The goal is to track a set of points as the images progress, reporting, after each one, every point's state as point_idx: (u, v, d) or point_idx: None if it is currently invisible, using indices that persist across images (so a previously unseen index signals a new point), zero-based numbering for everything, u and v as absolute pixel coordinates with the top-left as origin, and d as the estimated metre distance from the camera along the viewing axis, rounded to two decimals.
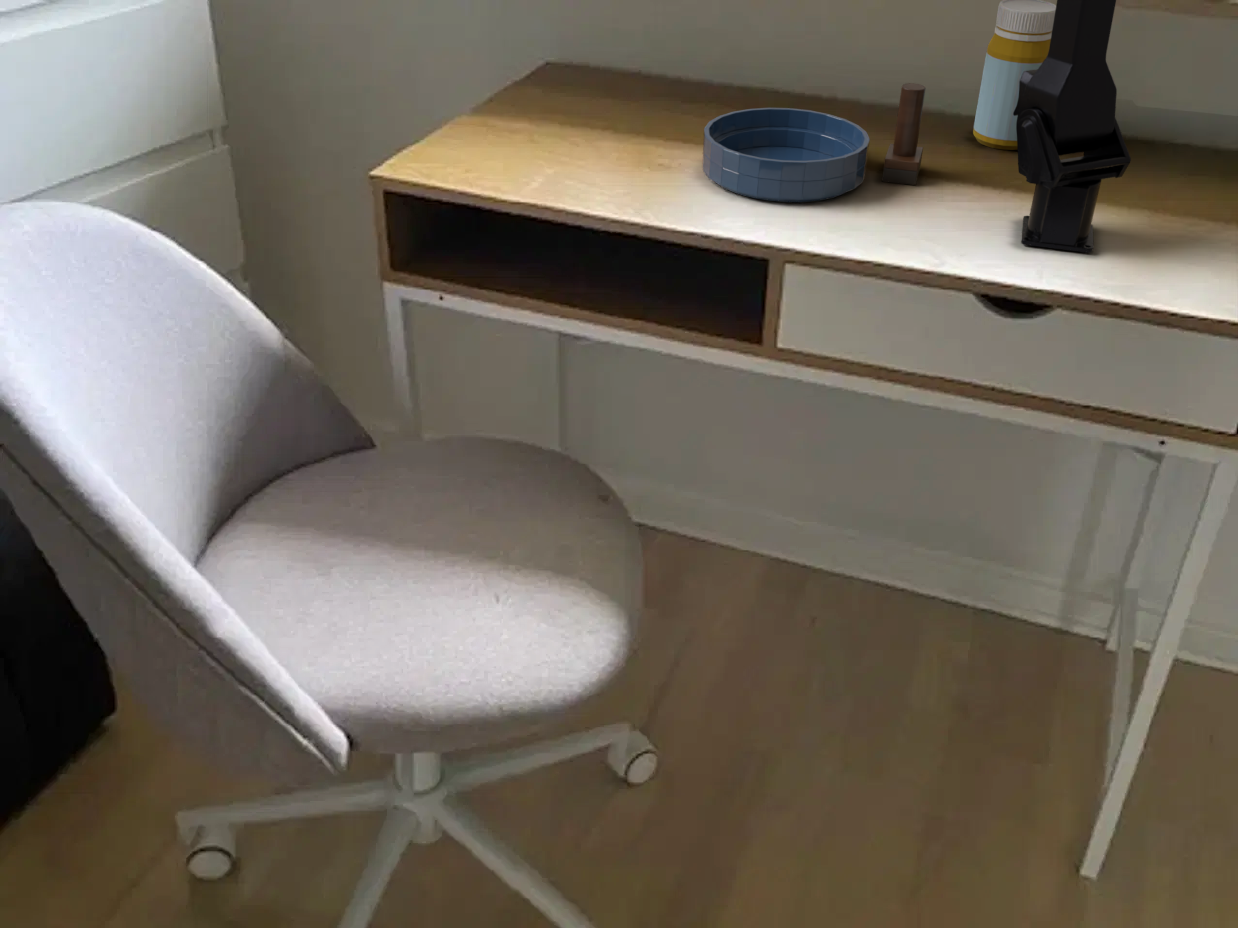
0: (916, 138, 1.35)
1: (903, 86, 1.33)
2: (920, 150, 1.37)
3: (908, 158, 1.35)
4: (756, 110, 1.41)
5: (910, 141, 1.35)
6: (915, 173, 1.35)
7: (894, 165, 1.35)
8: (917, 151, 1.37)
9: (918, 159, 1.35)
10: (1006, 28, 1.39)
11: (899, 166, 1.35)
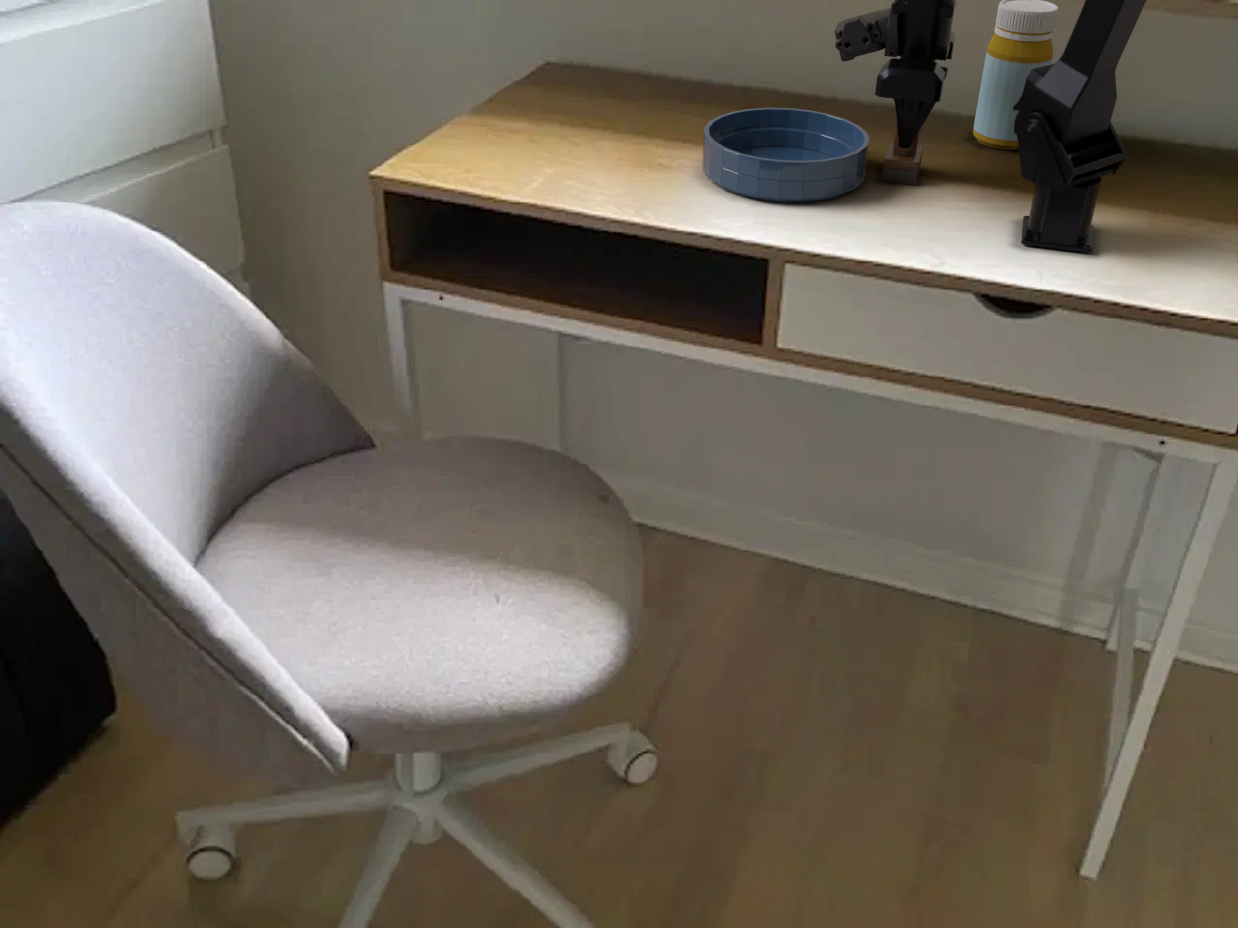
0: (916, 138, 1.35)
1: None
2: (920, 150, 1.37)
3: (908, 158, 1.35)
4: (756, 110, 1.41)
5: None
6: (915, 173, 1.35)
7: (894, 165, 1.35)
8: (917, 151, 1.37)
9: (918, 159, 1.35)
10: (1006, 28, 1.39)
11: (899, 166, 1.35)
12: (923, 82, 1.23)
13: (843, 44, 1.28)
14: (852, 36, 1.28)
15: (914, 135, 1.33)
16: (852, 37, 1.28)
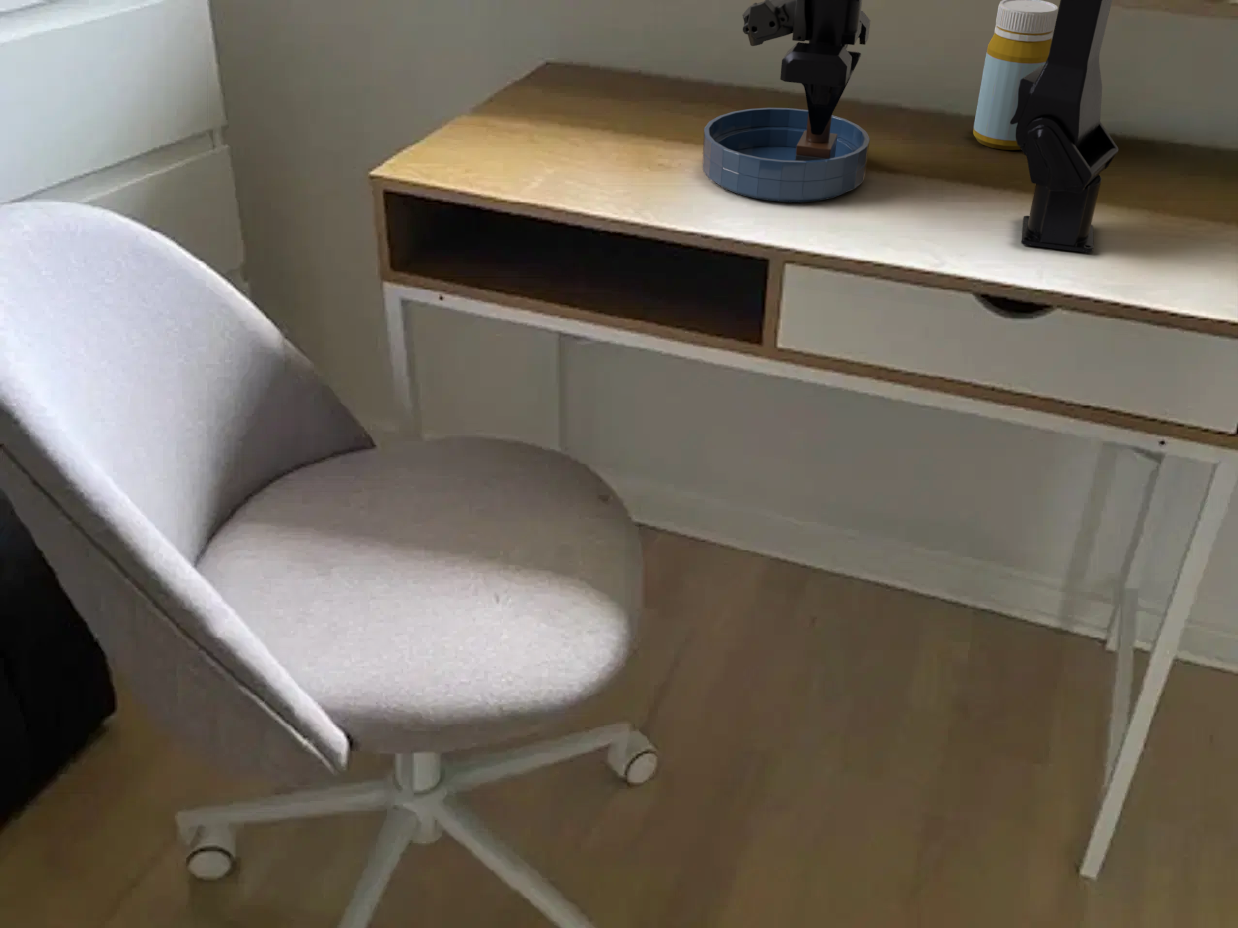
0: (828, 124, 1.33)
1: None
2: (834, 137, 1.35)
3: (820, 145, 1.33)
4: (756, 110, 1.41)
5: None
6: None
7: (806, 152, 1.33)
8: (830, 138, 1.35)
9: (830, 146, 1.33)
10: (1006, 28, 1.39)
11: (811, 153, 1.33)
12: (827, 66, 1.21)
13: (750, 28, 1.26)
14: (758, 20, 1.25)
15: (825, 121, 1.31)
16: (759, 21, 1.25)
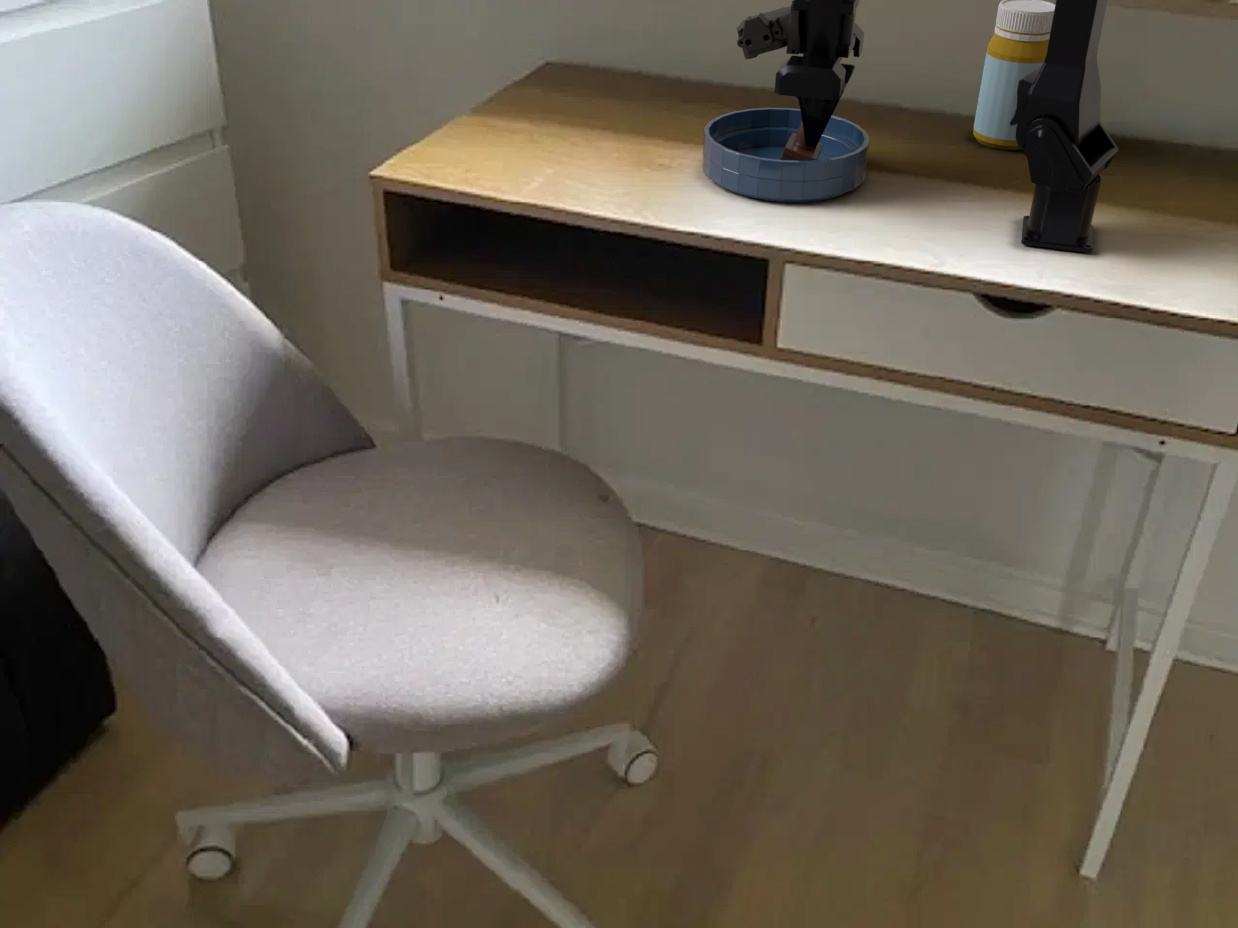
0: None
1: None
2: (820, 147, 1.36)
3: (807, 152, 1.33)
4: (756, 110, 1.41)
5: None
6: None
7: (792, 156, 1.33)
8: (817, 147, 1.35)
9: (817, 156, 1.33)
10: (1006, 28, 1.39)
11: (797, 158, 1.33)
12: (821, 79, 1.22)
13: (744, 41, 1.27)
14: (753, 33, 1.26)
15: (820, 133, 1.32)
16: (753, 34, 1.26)
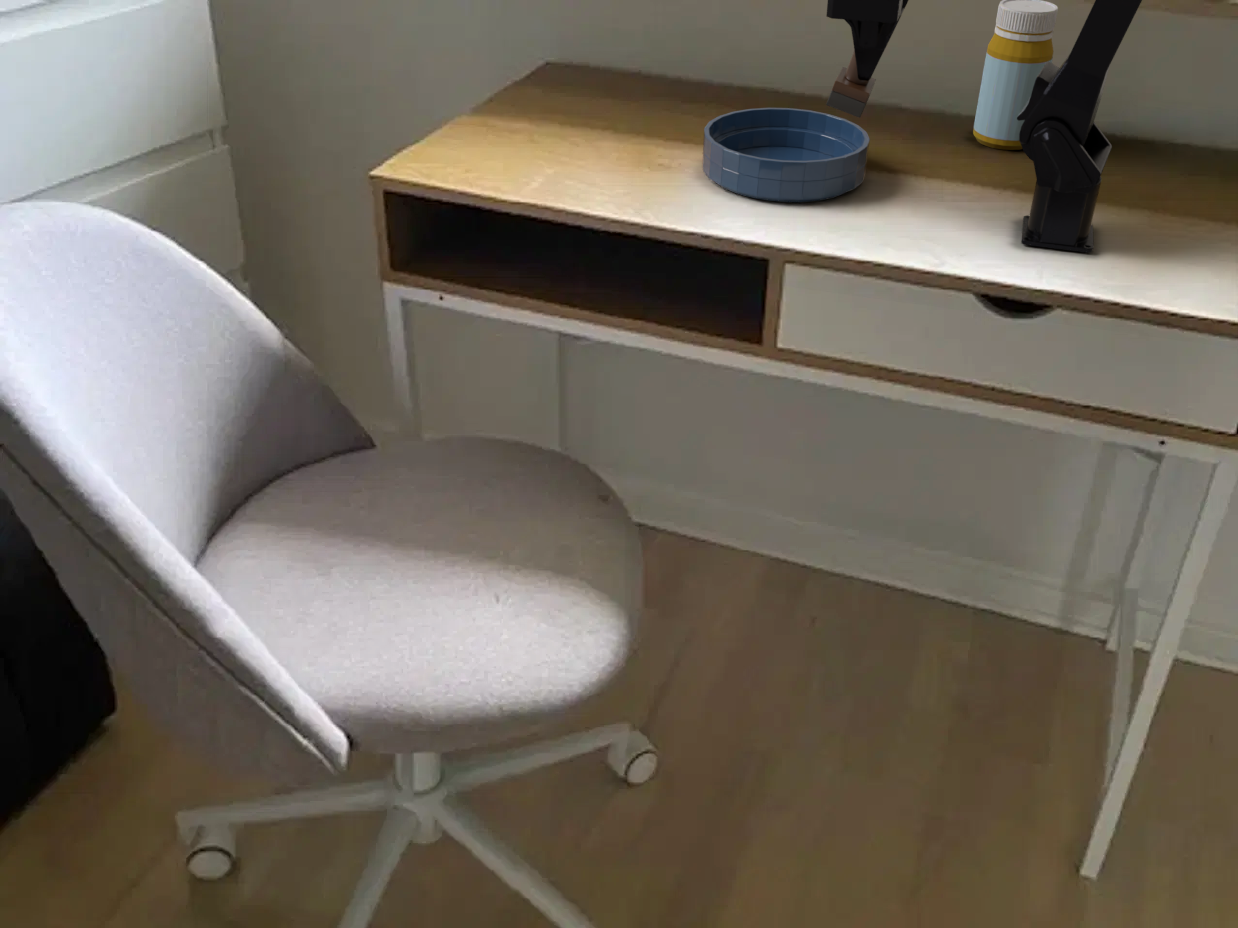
0: None
1: None
2: (873, 81, 1.26)
3: (859, 86, 1.24)
4: (756, 110, 1.41)
5: None
6: (863, 104, 1.23)
7: (843, 90, 1.23)
8: (869, 82, 1.26)
9: (869, 90, 1.24)
10: (1006, 28, 1.39)
11: (848, 93, 1.23)
12: (878, 0, 1.12)
13: None
14: None
15: (874, 65, 1.22)
16: None
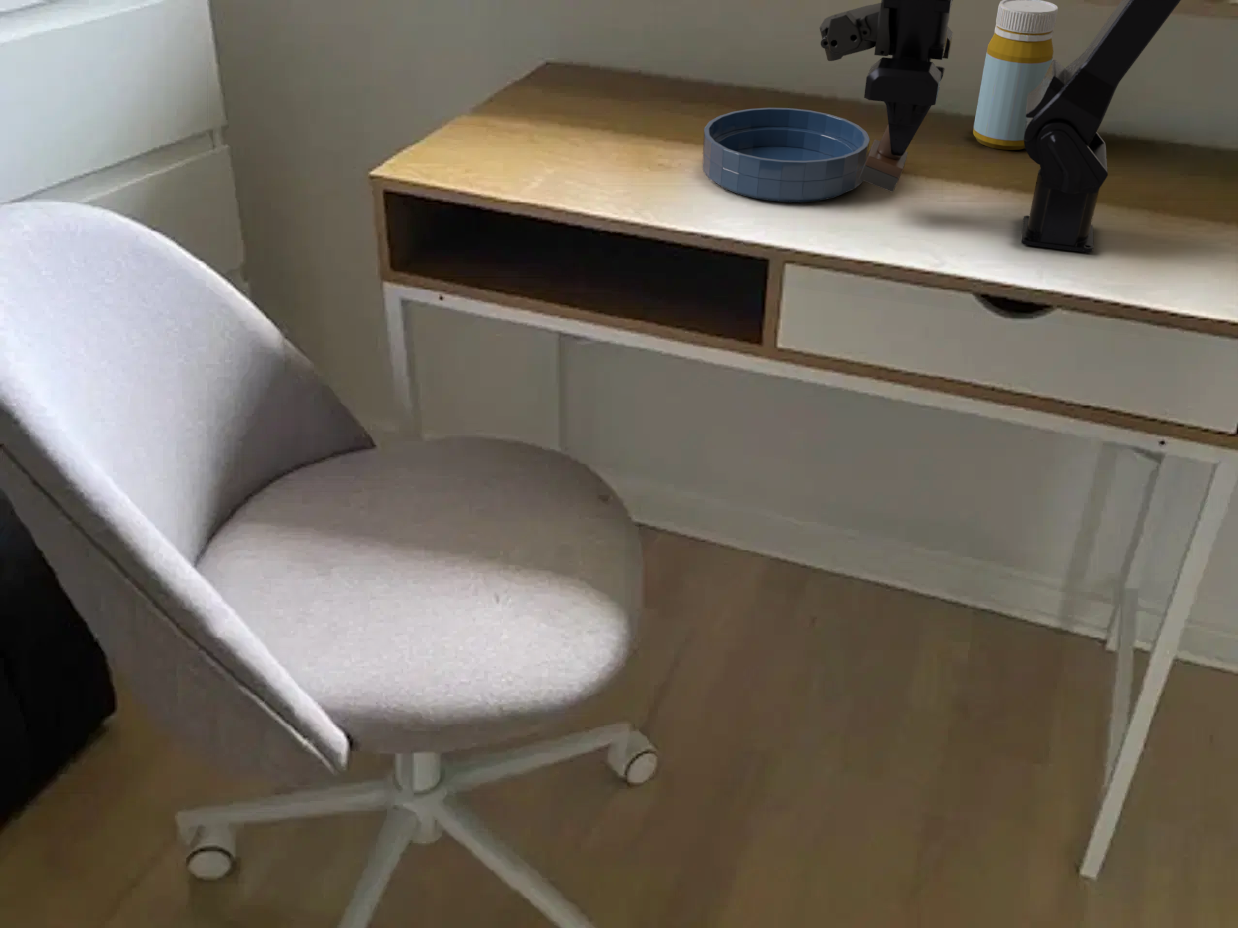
0: None
1: None
2: (905, 155, 1.26)
3: (892, 161, 1.23)
4: (756, 110, 1.41)
5: None
6: (896, 179, 1.23)
7: (876, 165, 1.23)
8: None
9: (902, 165, 1.23)
10: (1006, 28, 1.39)
11: (881, 167, 1.23)
12: (917, 84, 1.12)
13: (829, 42, 1.17)
14: (839, 33, 1.16)
15: (908, 141, 1.22)
16: (839, 34, 1.16)
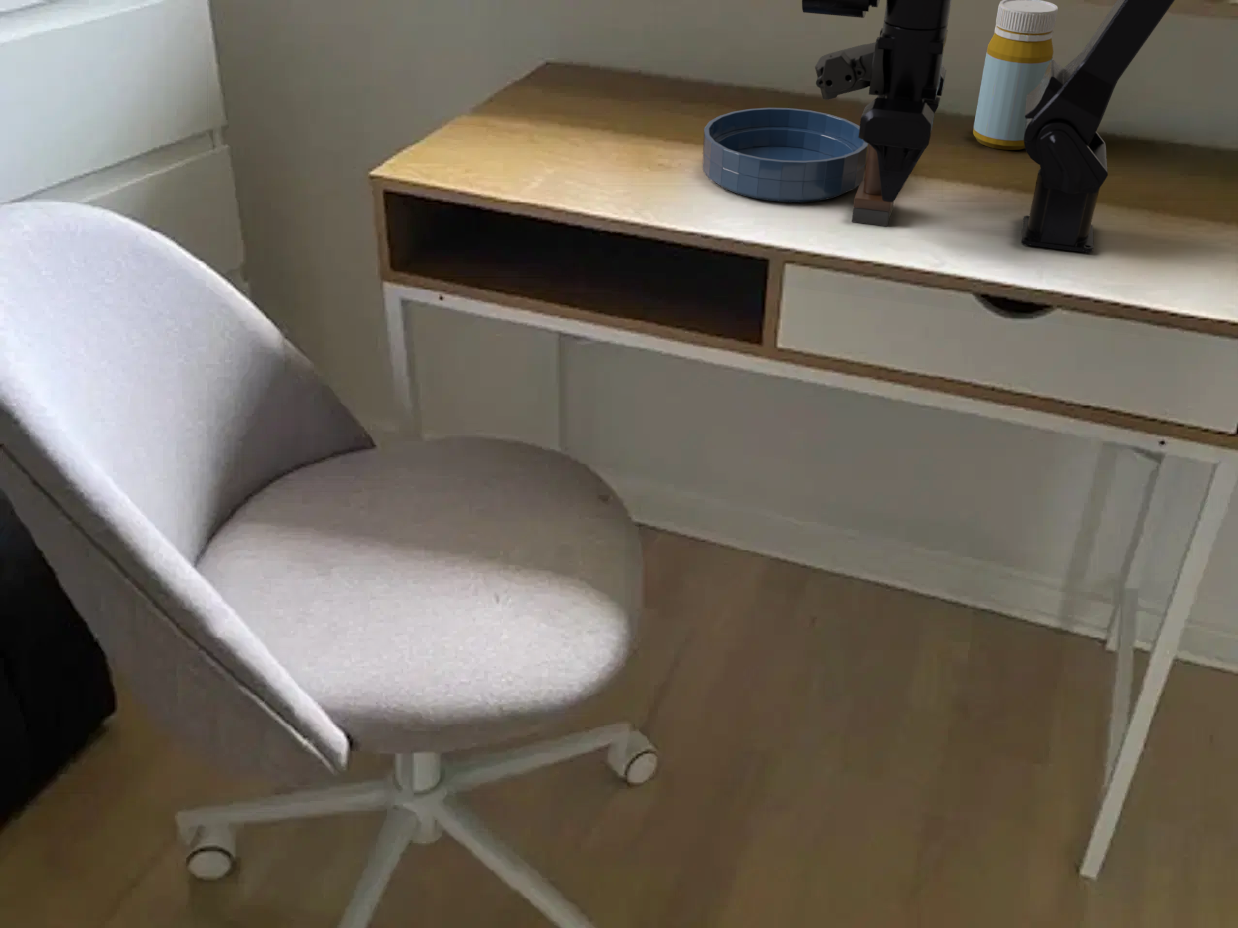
0: None
1: None
2: None
3: (879, 197, 1.26)
4: (756, 110, 1.41)
5: None
6: (887, 213, 1.25)
7: (864, 205, 1.26)
8: None
9: None
10: (1006, 28, 1.39)
11: (870, 206, 1.25)
12: (910, 125, 1.14)
13: (824, 82, 1.19)
14: (834, 73, 1.18)
15: (898, 188, 1.21)
16: (834, 74, 1.18)
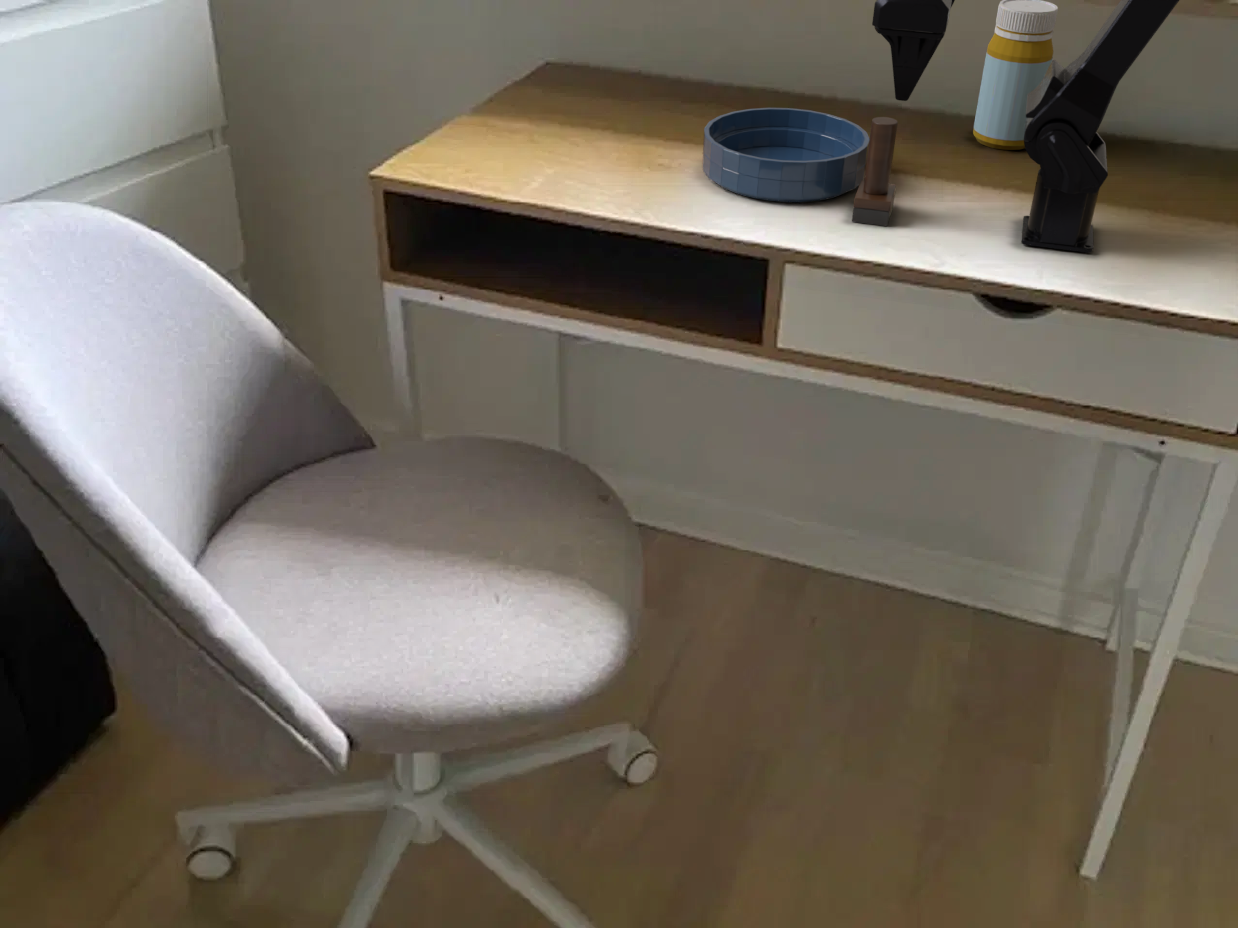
0: (888, 175, 1.25)
1: (873, 120, 1.23)
2: (893, 188, 1.28)
3: (879, 197, 1.26)
4: (756, 110, 1.41)
5: (882, 179, 1.25)
6: (887, 213, 1.25)
7: (864, 204, 1.26)
8: (889, 189, 1.27)
9: (890, 198, 1.25)
10: (1006, 28, 1.39)
11: (870, 206, 1.25)
12: (927, 9, 1.08)
13: None
14: None
15: (913, 85, 1.16)
16: None
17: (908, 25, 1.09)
